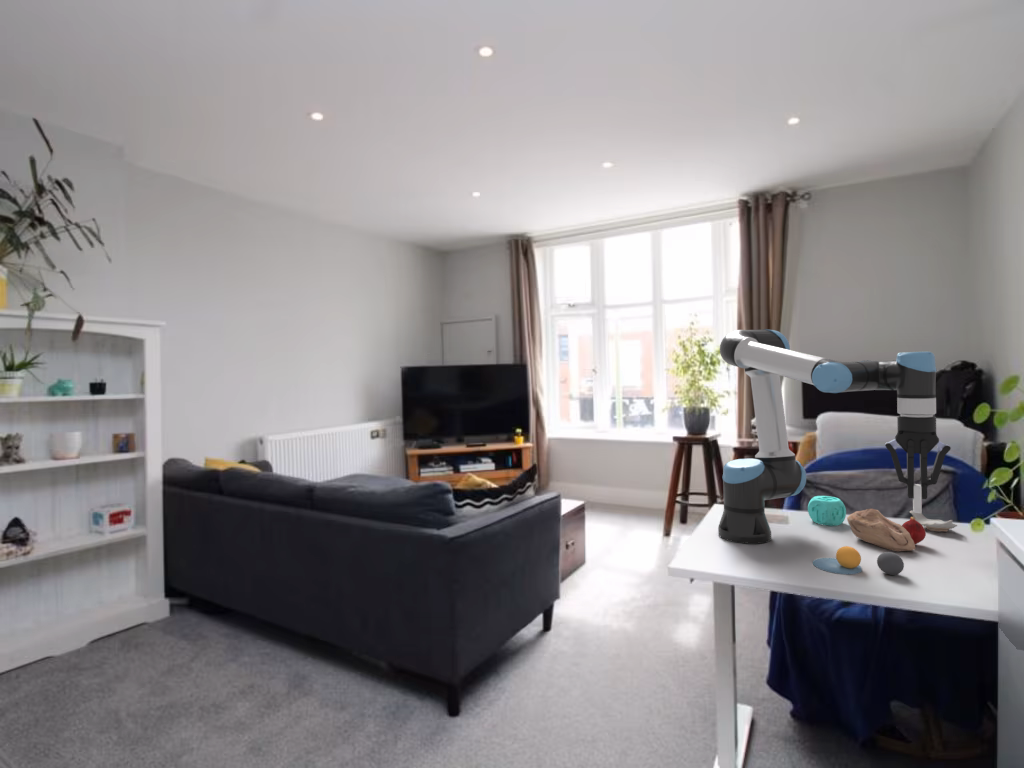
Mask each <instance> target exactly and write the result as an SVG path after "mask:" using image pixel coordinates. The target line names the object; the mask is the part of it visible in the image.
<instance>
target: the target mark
mask: <svg viewBox="0 0 1024 768" xmlns="http://www.w3.org/2000/svg"><path fill="white" fill-rule="evenodd" d="M812 565H813V566H814V567H816V568H817V569H818V570H819V569H820V570H823V571H826V572H827V573H828V572H829V573H832V574H837V575H838V574H839V575H855V574H859V573H861V572H862V571H863V568H862V567H861V566H860V564H859V565H858V566H857V567H856V568H845V567H843V566H842V565H840V564H839V562H838V561H837V559H836V557H821V558H820V557H819V558H816V559H814V560H813V561H812Z"/></svg>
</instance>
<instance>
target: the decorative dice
mask: <svg viewBox="0 0 1024 768" xmlns="http://www.w3.org/2000/svg"><path fill="white" fill-rule="evenodd" d="M807 513H808V516H809V518H810V519H811V520H812V522H814V523H815V524H817V523H818V525H822V526H827V525H828V527H829V526H831V527H837V526H840V525H841V524H843V523H844V521H845V520H846V518H847V517H846V516H847V509H846V506H845V504H844V502H843V500H841V499H840V498H838V497H835V496H829V495H816V496H813V497H812V498H811V499H810V500H809V502H808V505H807Z"/></svg>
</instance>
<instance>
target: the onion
mask: <svg viewBox="0 0 1024 768" xmlns="http://www.w3.org/2000/svg"><path fill="white" fill-rule="evenodd" d="M901 526H903V527H904V528H905V529H906V530H907V531H908V532H909V533H910V536H911V538H912V539H913V541H914V544H915V545H917V544H919V543H921V542H922V541H924V539H926V535H927V533H926V530H925V526H923V525H921V524H920V523H919V522H917V521H916V520H915V518H914V517H913V516H910V519H909V520H906V521H905V522H904V523H902V524H901Z"/></svg>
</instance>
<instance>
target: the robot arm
mask: <svg viewBox="0 0 1024 768" xmlns="http://www.w3.org/2000/svg"><path fill="white" fill-rule="evenodd" d="M790 347H791V346H790V343H789V340H788V339H787V337H786V336H785V335H784V334H783V333H782V332H780V331H778V330H775V329H767V328H764V329H736V330H733V331H731V332H730V333H728V334H726V335H725V336H724V337H723V338H722V339H721V342H720V344H719V353H720V356H721V359H722V360H723V361H724V362H725V363H726V364H729V365H730V366H733V367H738V368H740V369H744V373H745V375H747V376H748V377H749V378H750V385H751V393H752V400H753V409H754V418H755V425H756V426H755V427H756V434H757V435H756V436H757V440H758V441H757V442H758V452H757V453H756V454H755V455H754V458H749V457H748V458H738V459H732V460H731V461H728V462H726V463H725V464H724V465H723V471H722V473H723V474H722V485H723V488H722V489H723V490H722V492H723V510H722V511H723V513H722V514H721V519H720V521H719V524H718V528H717V529H718V536H719V537H720V538H722V539H725V540H727V541H729V542H734V543H740V544H748V545H749V544H751V545H753V544H765V543H768V542H770V541H771V540H772V530H771V527H770V524H769V521H768V519H767V515H766V513H765V511H766V510H765V508H766V507H765V501H768V500H775V499H781V498H784V499H787V498H789V497H792V496H797V495H799V494H800V493H801V491H803V489H804V488H805V486H806V483H807V471H806V470H805V467H804V466H802V463H801V462H800V461H799V460H796V459H797V458H796V454H795V453H794V452H793V451H792V450H791V449H790V448H789V441H788V432H787V423H786V422H787V421H786V414H785V407H784V400H783V391H782V384H781V377H784V378H788V379H791V380H794V381H798V382H802V383H806V384H809V385H813V386H814V387H815V388H816V389H817V390H819V391H820V392H822V393H830V394H838V393H847V392H864V391H874V390H875V391H896V401H897V402H896V403H897V405H896V407H897V409H896V410H897V412H896V413H897V414H899V415H898V416H897V432H896V433H897V434H896V435H895V437H894V439H892V440H890V441H887V442H885V443H884V447H885V449H887V450H888V451H889V453H890V455H891V459H892V462H893V463H892V464H893V466H894V469H895V473H896V475H897V479H898V481H899V482H900V483H903V484H906V489H907V490H906V492H907V495H906V496H907V497H908V499H912V510H913V511H914V513H921V514H923V513H922V512H923V511H922V505H923V504H922V502H923V501H922V500H927V499H928V487H929V486H931V485H936V484H937V483H938V480H939V476H940V473H941V471H942V467H943V464H944V461H945V457H946V455H947V454H948V453H949V452H950V451H951V449H952V447H951V446H950V445H949V444H947V443H946V444H945V443H944V442H942V441H940V438H939V437H938V435H937V417H936V416H934V415H935V414H937V397H936V395H937V394H936V381H937V380H936V377H937V376H936V375H937V374H936V373H937V368H936V367H937V366H936V355H935V353H933V352H932V351H910V352H909V351H908V352H907V351H905V352H901V351H900V352H898V353H897V354H896V359H895V360H861V361H839V360H835V359H830V358H827V357H822V356H818V355H812V354H809V353H805V352H800V351H797V350H792V349H791V348H790ZM897 444H898V445H899V446H900V447H901V449H903V451H904V452H906V476H904V473H903V470H902V466H901V463H900V460H899V457H898V453H897V449H898V445H897ZM936 446H937V447H936ZM935 447H936V450H937V454H936V456H935V460H934V462H933V463H934V464H933V467H932V471H931V473H930V476H929V478H928V454H930V452H931V451H932V450H933V449H934V448H935ZM915 454H919V479H920V480H919V483H920V484H918V483H917V484H916V483H915V464H914V463H915Z"/></svg>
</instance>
